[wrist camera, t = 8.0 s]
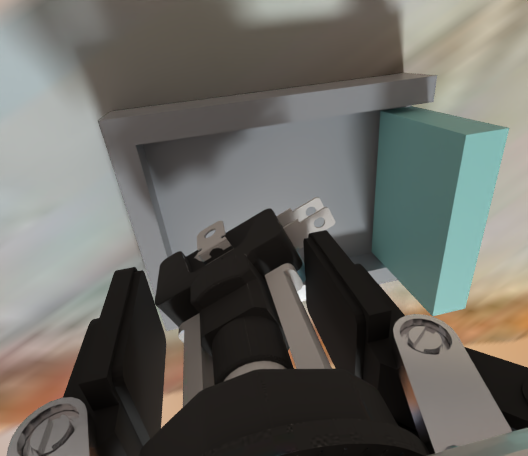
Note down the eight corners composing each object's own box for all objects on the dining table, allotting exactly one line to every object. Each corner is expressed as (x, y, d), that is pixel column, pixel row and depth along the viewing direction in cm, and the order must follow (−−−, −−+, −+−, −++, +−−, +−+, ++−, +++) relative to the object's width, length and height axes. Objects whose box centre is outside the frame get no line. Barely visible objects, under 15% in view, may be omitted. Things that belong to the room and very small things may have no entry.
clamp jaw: (411, 106, 15) (509, 128, 10) (396, 246, 18) (465, 308, 14) (380, 110, 15) (466, 135, 10) (371, 251, 18) (432, 316, 14)
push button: (287, 140, 11) (597, 409, 3) (343, 249, 14) (594, 564, 5) (126, 238, 12) (-40, 731, 3) (209, 326, 15) (239, 731, 6)
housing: (404, 72, 15) (437, 75, 13) (387, 255, 20) (409, 277, 18) (110, 111, 14) (97, 120, 12) (168, 300, 18) (166, 330, 16)
